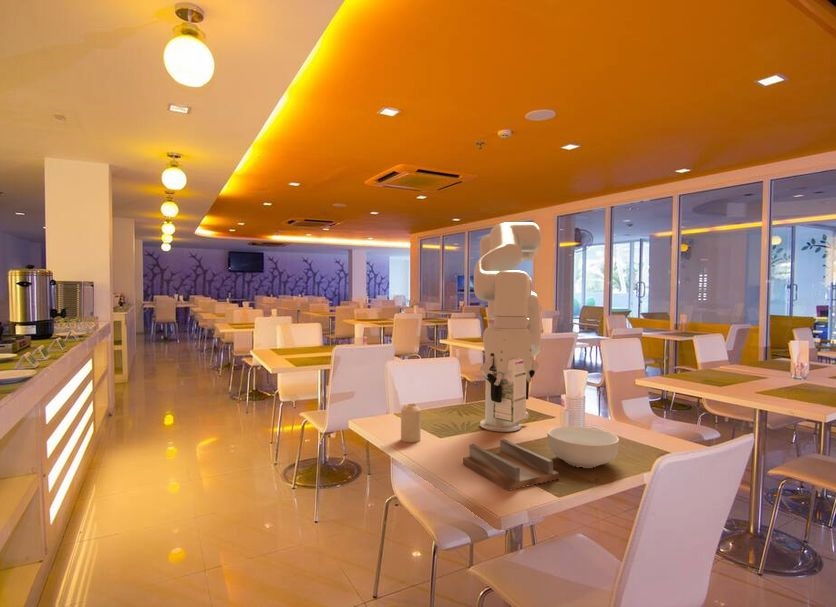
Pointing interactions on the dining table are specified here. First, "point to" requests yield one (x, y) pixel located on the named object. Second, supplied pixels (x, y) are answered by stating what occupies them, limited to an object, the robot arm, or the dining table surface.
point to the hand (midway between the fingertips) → (509, 399)
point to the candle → (410, 423)
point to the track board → (511, 465)
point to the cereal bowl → (583, 445)
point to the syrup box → (512, 393)
